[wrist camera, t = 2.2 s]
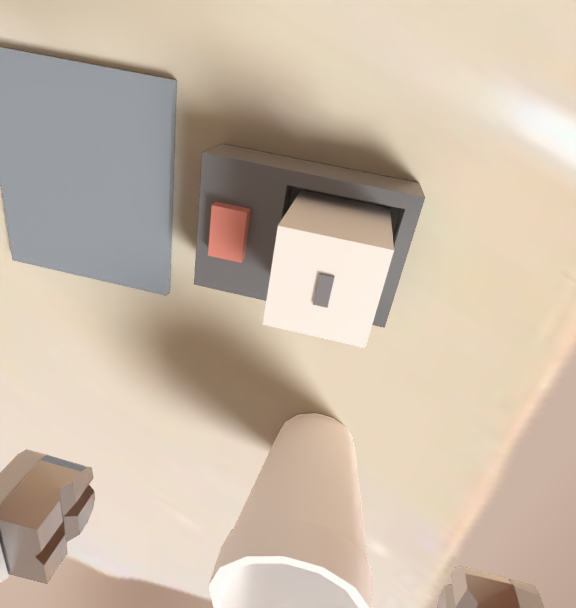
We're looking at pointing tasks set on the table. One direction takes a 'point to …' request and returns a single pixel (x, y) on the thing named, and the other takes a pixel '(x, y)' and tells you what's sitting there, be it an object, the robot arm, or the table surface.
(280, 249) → the block
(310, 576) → the foam cup
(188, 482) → the table surface
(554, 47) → the table surface
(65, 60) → the rubber mat
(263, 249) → the power strip
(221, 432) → the table surface
